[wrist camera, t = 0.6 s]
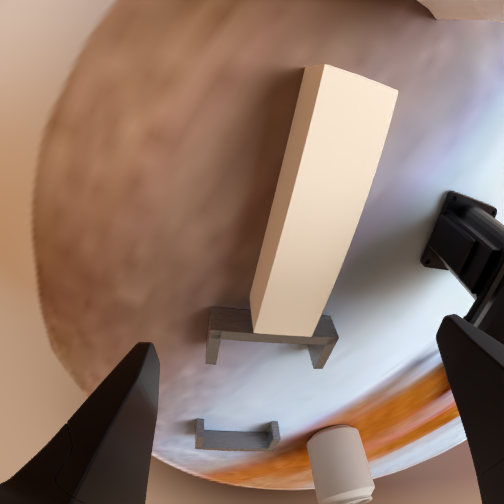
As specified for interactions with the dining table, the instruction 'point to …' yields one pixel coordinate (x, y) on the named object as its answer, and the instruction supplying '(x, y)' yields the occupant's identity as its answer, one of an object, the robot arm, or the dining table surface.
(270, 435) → the end caps
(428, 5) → the cup
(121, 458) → the robot arm
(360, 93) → the beige wooden bar
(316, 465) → the can
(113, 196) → the dining table surface
